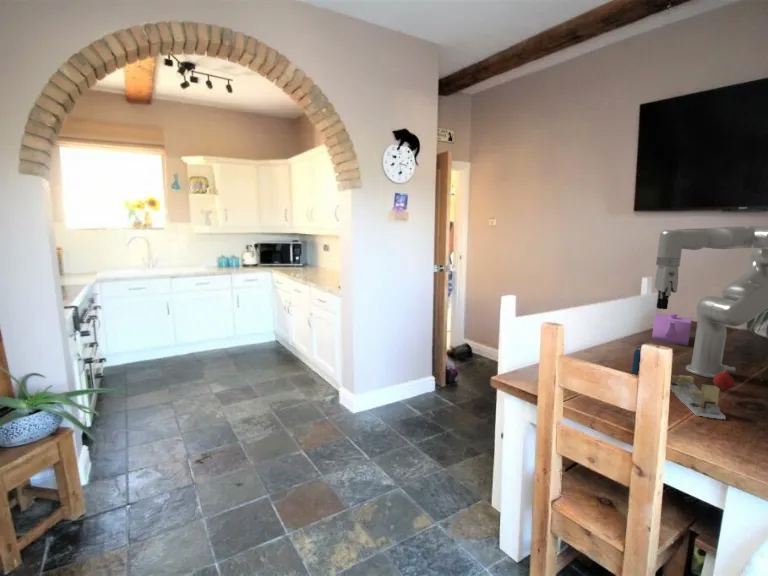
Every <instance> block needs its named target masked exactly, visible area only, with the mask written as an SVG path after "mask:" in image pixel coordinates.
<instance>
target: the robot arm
mask: <svg viewBox="0 0 768 576" xmlns="http://www.w3.org/2000/svg"><path fill="white" fill-rule="evenodd" d="M658 239H659V240H658V247H657V255H656V263H655V266H657V269H656V273H655V274H656V275H655V280H654V288H655V289H656V290H657V300H656V309H658V310H667V309H668V305H669V300H670V297H671V295H672V293H677V292H678V286H679V285H678V284H679V268H680V264H681V258H682V251H683V250H691V251H697V250H701V249H704V248H706V249H714V250H715V249H716V250H730V249H731V250H732V249H735V250H736V249H737V250H738V249H753V250H752V251H751V254H750V264H749V268H748V270H747V271H746V272H745V273H744V274H742V275H741V276H740V277H738V278H737V279H736V280H734V281H732V282H731V283H730V284H728V285H727V286H725V288H724V289H723V290H722V293H721V297H720V296H714V295H710V296H708V295H707V296H705V297H702V298H700V300H699V301H698V302H697V305H696V319H697V320H696V323H697V324H696V331H695V335H694V336H695V338H694V345H693V348H692V349H693V350H692V357H691V363H690V364H687V365H686V366H685V370H686V371H687V372H689V373H690V374H691V373H692V374H693V375H697V376H701V377H705V378H713V379H714V376H715V375H717V374H718V373H720V372H723V371H725V370H726V371H727V372H730V373H731V372H732V373H735V372H736V367H734V366H729V365H726V364H723V357H724V351H725V346H726V339H727V327H726V326H730V327H740V326H743V325H745V324H746V323H748V322H750V321H751V320H753V319H755V318H756V317H757V316H759V315H761V313H763V312H765V311H767V310H768V226H765V225H744V226H742V225H741V226H718V227H704V228H703V227H701V228H700V227H699V228H678V229H664V230H662V231H660V233H659V238H658Z"/></svg>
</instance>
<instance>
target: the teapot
mask: <svg viewBox="0 0 768 576" xmlns="http://www.w3.org/2000/svg"><path fill="white" fill-rule="evenodd" d="M691 327H692V318H691V317H686V316H685V317H684V316H678V313H673V312H672V313H670V312H669V313H668V314H662V313H661V314H660V313H655V316H654V318H653V328H652V334H651V335H652V336H651V341H655V342H661V343H669V344H674V345H681V346H687V347H688V346H689V343H690V342H689V341H690V334H691V329H692V328H691Z"/></svg>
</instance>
